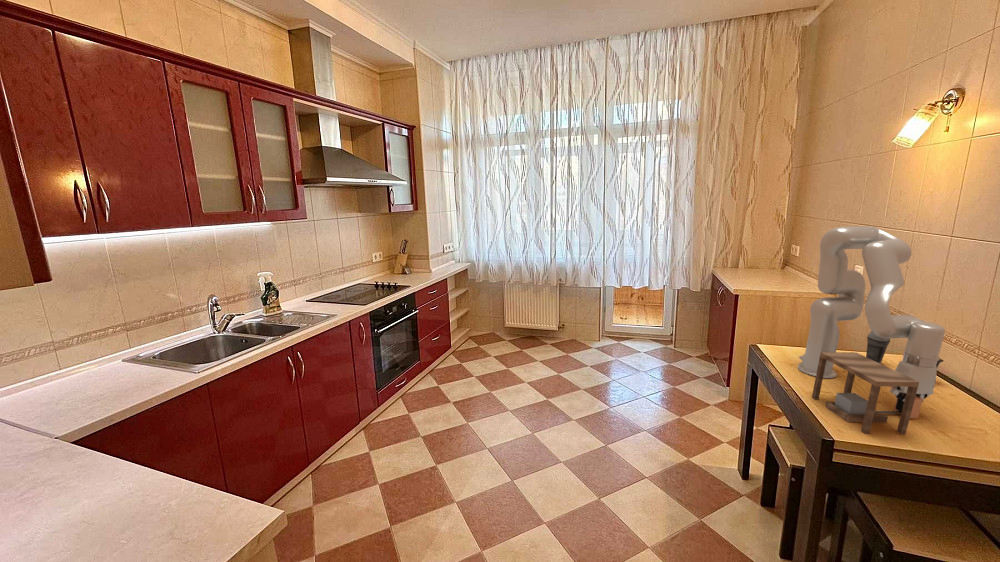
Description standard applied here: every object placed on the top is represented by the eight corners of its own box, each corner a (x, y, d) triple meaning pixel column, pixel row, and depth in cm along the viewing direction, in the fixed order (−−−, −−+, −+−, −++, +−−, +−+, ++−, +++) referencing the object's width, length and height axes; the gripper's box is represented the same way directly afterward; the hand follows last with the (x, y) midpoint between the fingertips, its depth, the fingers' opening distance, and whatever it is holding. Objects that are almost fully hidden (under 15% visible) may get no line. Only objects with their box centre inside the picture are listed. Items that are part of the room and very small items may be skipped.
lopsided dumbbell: (833, 408, 137) (837, 390, 135) (901, 409, 137) (906, 390, 135) (848, 418, 131) (852, 399, 130) (919, 419, 131) (924, 399, 129)
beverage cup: (880, 362, 174) (890, 318, 170) (887, 369, 168) (898, 323, 163) (858, 359, 177) (868, 316, 173) (865, 365, 171) (875, 321, 166)
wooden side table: (811, 397, 145) (820, 352, 141) (846, 397, 145) (856, 352, 141) (864, 433, 123) (876, 381, 120) (905, 434, 123) (919, 382, 119)
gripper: (933, 355, 133) (919, 405, 137) (883, 355, 133) (871, 405, 137) (958, 365, 126) (943, 417, 130) (905, 364, 126) (892, 417, 130)
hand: (906, 410), depth 134 cm, fingers closed on lopsided dumbbell, 3 cm apart
